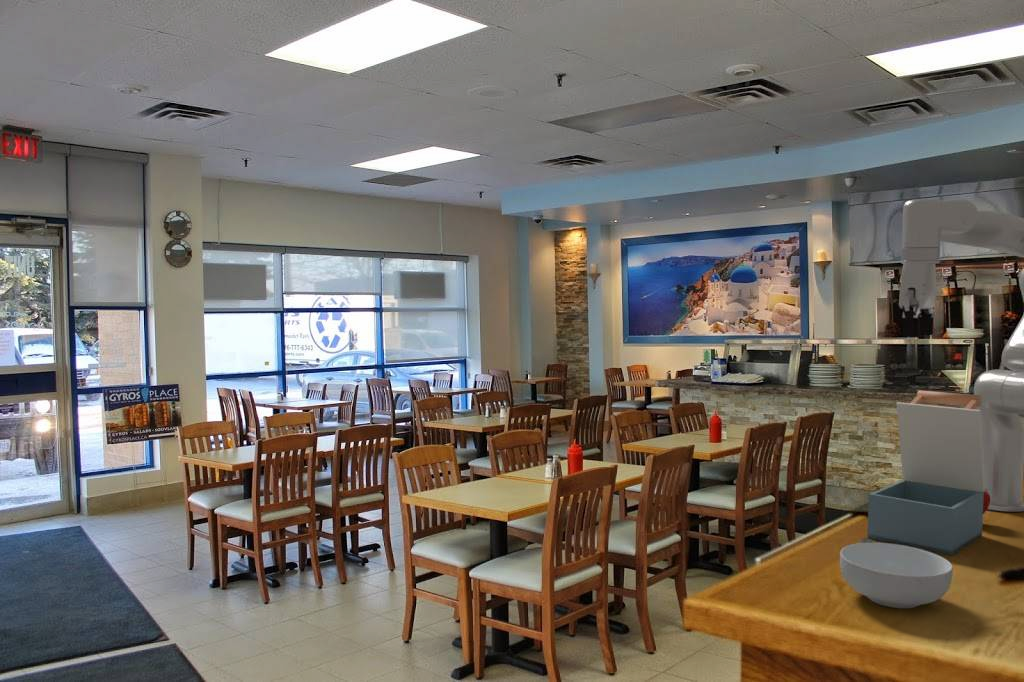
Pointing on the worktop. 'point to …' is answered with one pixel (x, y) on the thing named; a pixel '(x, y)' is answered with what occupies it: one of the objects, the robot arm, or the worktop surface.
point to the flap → (942, 440)
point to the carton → (925, 516)
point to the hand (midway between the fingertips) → (917, 335)
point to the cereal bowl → (895, 573)
